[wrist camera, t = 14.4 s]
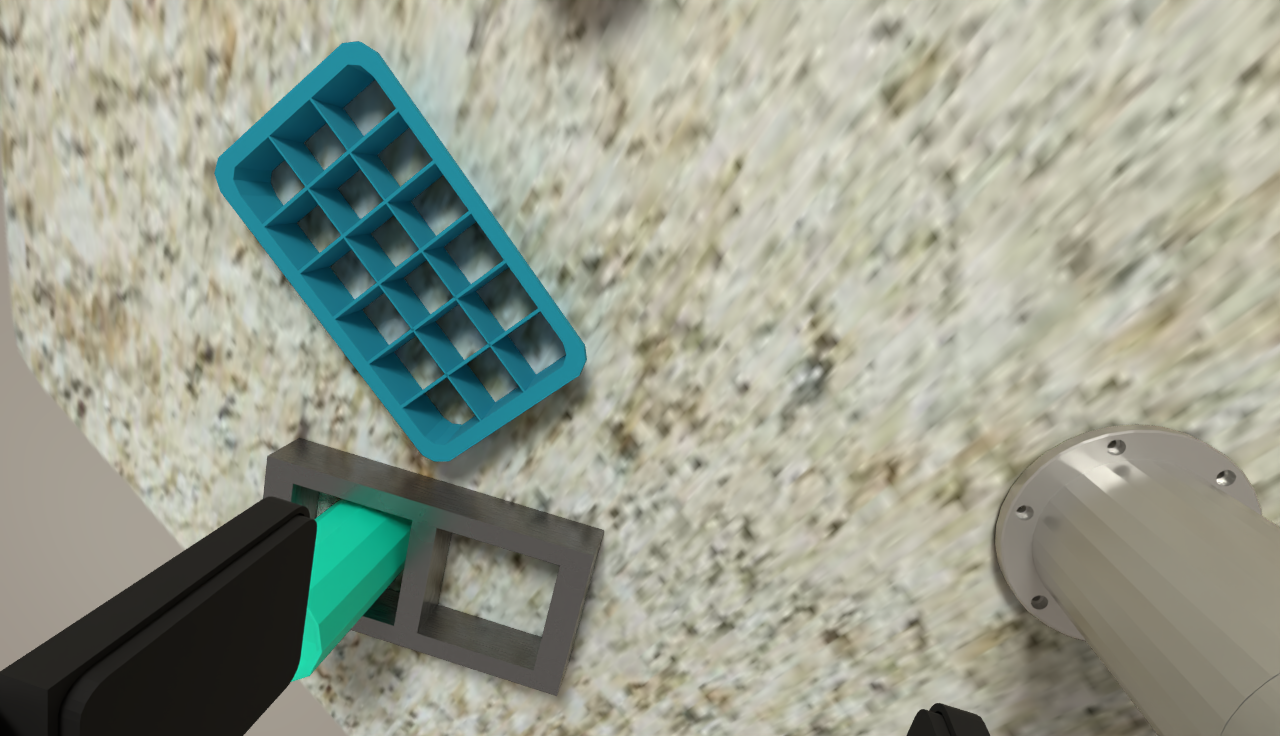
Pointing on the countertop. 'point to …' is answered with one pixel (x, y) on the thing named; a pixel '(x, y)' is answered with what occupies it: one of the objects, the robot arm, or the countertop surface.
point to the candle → (349, 573)
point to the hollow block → (434, 519)
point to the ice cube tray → (310, 274)
